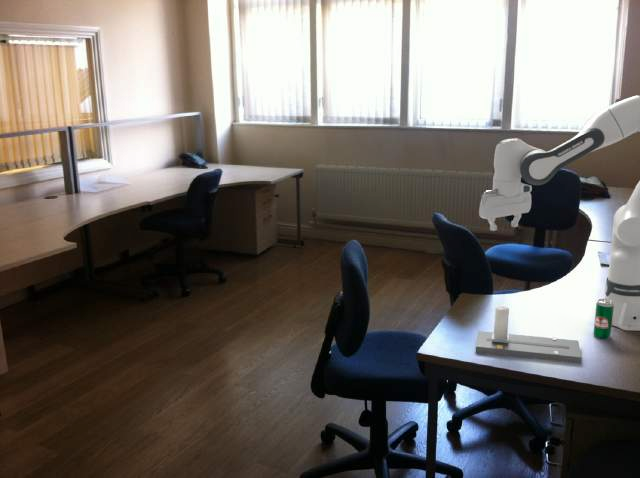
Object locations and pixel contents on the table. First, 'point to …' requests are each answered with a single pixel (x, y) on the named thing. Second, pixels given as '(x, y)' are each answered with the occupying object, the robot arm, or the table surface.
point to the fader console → (531, 347)
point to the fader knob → (501, 325)
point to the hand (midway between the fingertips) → (504, 228)
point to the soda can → (603, 318)
